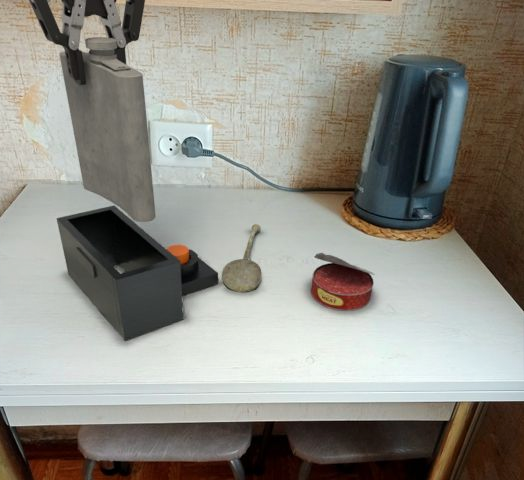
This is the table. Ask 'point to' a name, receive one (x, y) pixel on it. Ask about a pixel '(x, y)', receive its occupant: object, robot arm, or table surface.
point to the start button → (179, 252)
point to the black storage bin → (131, 261)
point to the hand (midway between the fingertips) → (99, 81)
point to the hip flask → (112, 129)
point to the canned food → (341, 284)
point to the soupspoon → (243, 269)
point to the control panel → (196, 275)
